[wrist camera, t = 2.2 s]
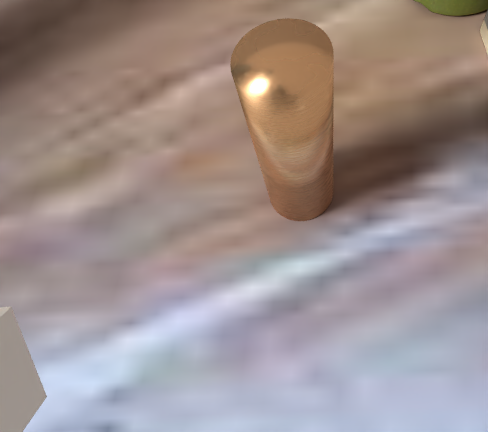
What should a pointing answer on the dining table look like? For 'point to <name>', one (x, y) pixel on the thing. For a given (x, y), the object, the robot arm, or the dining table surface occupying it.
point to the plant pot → (455, 6)
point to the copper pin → (289, 112)
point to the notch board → (485, 32)
